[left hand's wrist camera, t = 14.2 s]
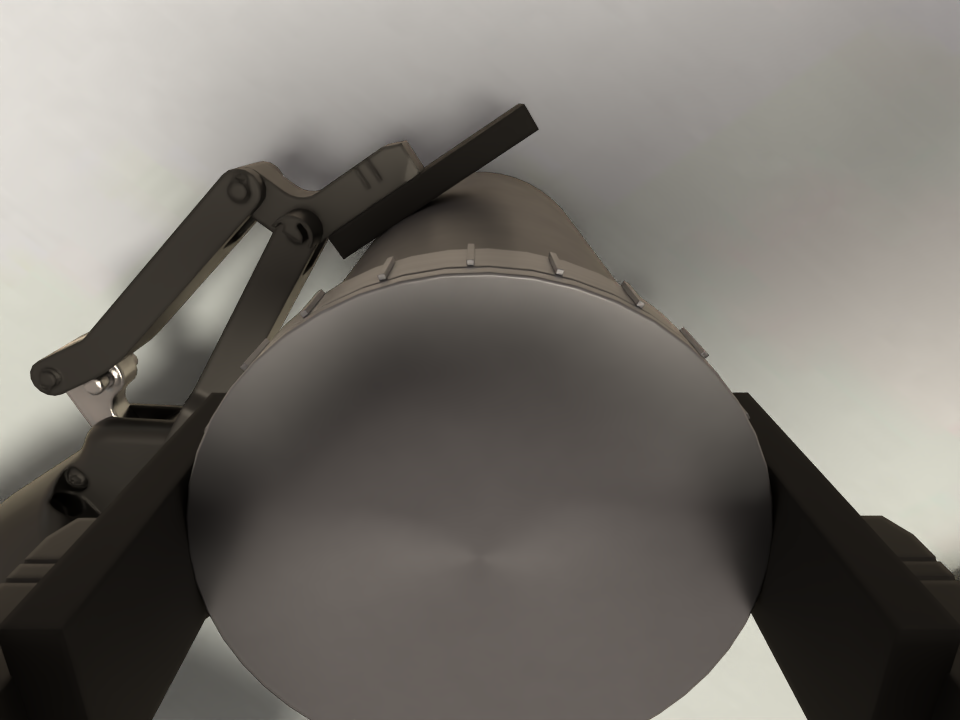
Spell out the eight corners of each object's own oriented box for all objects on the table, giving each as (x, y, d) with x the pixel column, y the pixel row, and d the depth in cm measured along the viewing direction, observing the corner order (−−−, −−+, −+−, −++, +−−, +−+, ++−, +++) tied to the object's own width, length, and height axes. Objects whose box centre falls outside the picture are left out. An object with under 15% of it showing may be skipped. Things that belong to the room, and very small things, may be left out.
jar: (630, 289, 27) (834, 548, 12) (472, 417, 29) (464, 786, 14) (488, 122, 25) (502, 160, 9) (328, 274, 27) (117, 517, 11)
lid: (710, 179, 10) (751, 194, 9) (762, 649, 14) (798, 720, 12) (134, 315, 11) (77, 352, 10) (316, 728, 14) (296, 805, 13)
